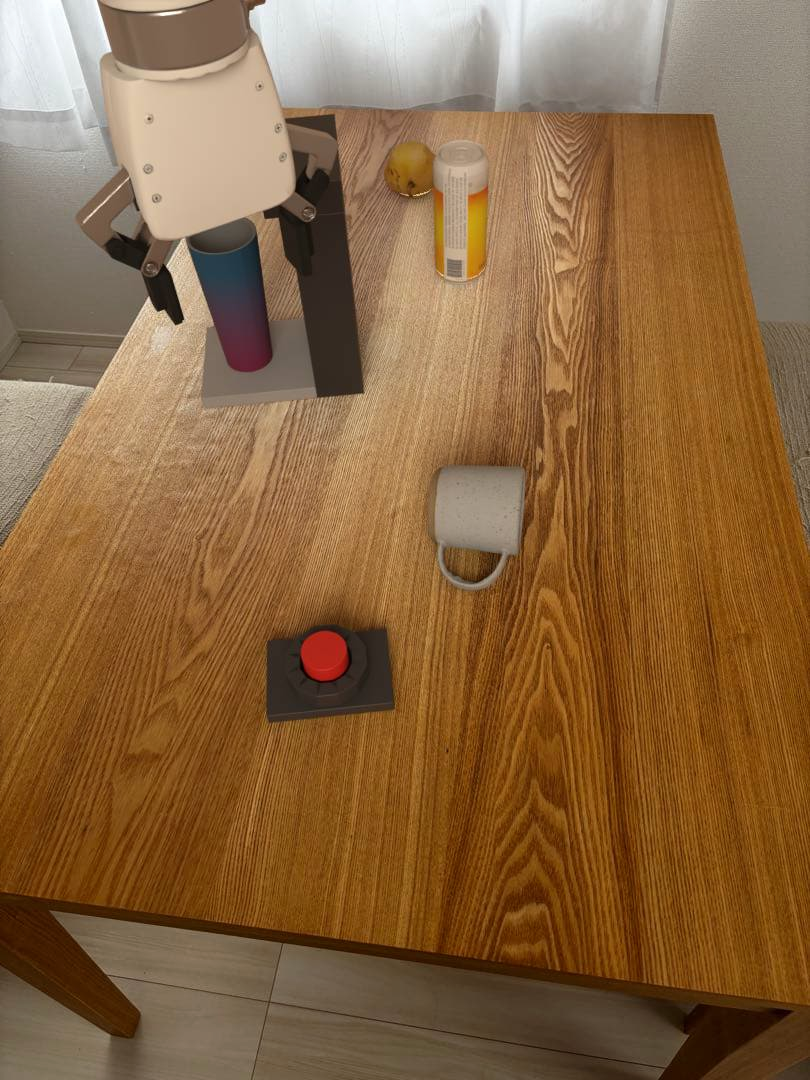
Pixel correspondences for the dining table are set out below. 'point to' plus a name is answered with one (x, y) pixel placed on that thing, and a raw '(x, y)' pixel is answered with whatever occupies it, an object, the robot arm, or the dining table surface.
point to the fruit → (410, 169)
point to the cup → (234, 291)
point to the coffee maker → (329, 315)
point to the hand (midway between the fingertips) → (237, 289)
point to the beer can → (460, 210)
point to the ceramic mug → (476, 513)
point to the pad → (347, 694)
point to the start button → (324, 656)
